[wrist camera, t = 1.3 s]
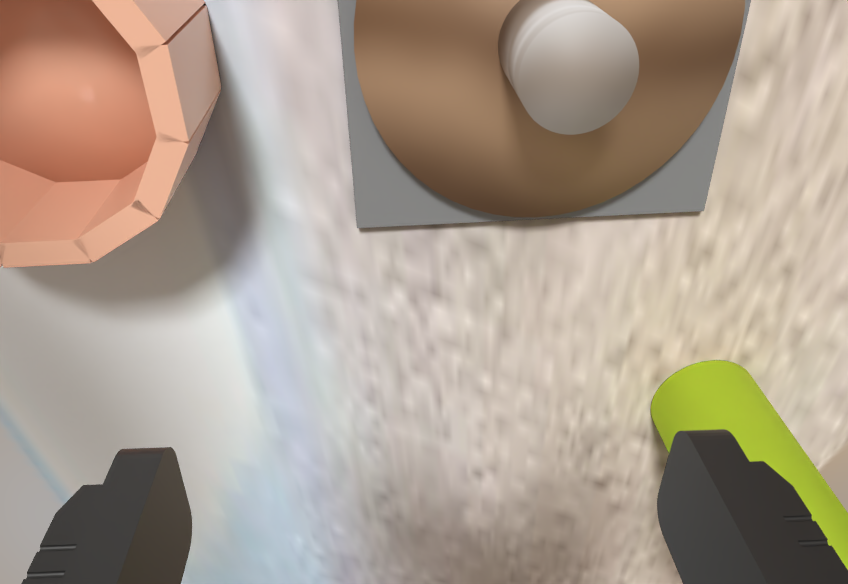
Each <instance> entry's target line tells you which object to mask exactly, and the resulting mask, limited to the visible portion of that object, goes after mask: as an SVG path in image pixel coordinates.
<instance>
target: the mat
mask: <svg viewBox="0 0 848 584" xmlns="http://www.w3.org/2000/svg"><path fill="white" fill-rule="evenodd" d="M750 2H751V0H745V11H744V17H743V23H742V30H741V36H740V39H739V43H738V46H737V50H736V53H735V57H734V60H733V63H732V66H731V68H730V70H729V73H728V75H727V78H726V80H725V83H724V85H723V87H722V89H721V91H720V93H719V95H718V96H717V98H716V100H715V102H714V104H713V106H712V107H711V109H710V111H709V112H708V113H707V115H706V116H705V118H704V119H703V121H702V122H701V124H700V125H699V127H698V128H697V129H696V131H695V132H694V133H693V134H692V135H691V136H690V138H689V139H688V140H687V141H686V142H685V143H684V145H683V146H682V147H681V148H680V149H679V150H678V151H677V152H676V153H675V154H674V155H673V156H672V157H671V158H670V159H669V160H668V161H667V162H665V163H664V164H663V165H662V166H661V167H660V168H658V169H657V170H656V171H655V172H653V173H652V174H651V175H649V176H648V177H647V178H645V179H644V180H643V181H641V182H639V183H638V184H636V185H635V186H633V187H631V188H630V189H628V190H626V191H625V192H623V193H621V194H619V195H617V196H615V197H613V198H611V199H608V200H606V201H604V202H602V203H599V204H596V205H594V206H591V207H588V208H585V209H582V210H578V211H574V212H570V213H565V214H561V215H554V216H545V217H509V216H502V215H494V214H490V213H486V212H482V211H478V210H474V209H471V208H469V207H466V206H464V205H461V204H459V203H456V202H454V201H452V200H450V199H448V198H446V197H444V196H443V195H441V194H439V193H437V192H436V191H434V190H432V189H431V188H430V187H428V186H427V185H426V184H424V183H423V182H422V181H420V180H419V179H418V178H416V177H415V176H414V175H413V174H412V173H411V172H410V171H409V170H408V169H407V168H406V167H405V166H404V165H403V164H402V163H401V162H400V161H399V160H398V159H397V157H396V156H395V155H394V153H393V152H392V151H391V150H390V148H389V147H388V146H387V144H386V143H385V141H384V140H383V138H382V136H381V134H380V133H379V131H378V129H377V128H376V126H375V124H374V122H373V120H372V118H371V115H370V113H369V110H368V108H367V106H366V103H365V101H364V97H363V94H362V90H361V87H360V83H359V79H358V75H357V68H356V61H355V53H354V16H355V8H356V0H338V9H339V21H340V33H341V44H342V56H343V68H344V80H345V91H346V103H347V115H348V127H349V138H350V150H351V162H352V174H353V185H354V197H355V209H356V221H357V228H369V227H389V226H409V225H430V224H450V223H470V222H491V221H511V220H531V219H551V218H572V217H592V216H612V215H633V214H653V213H673V212H693V211H704V208H705V204H706V199H707V195H708V190H709V186H710V181H711V177H712V172H713V168H714V163H715V159H716V154H717V150H718V146H719V141H720V137H721V132H722V128H723V123H724V119H725V114H726V110H727V105H728V101H729V96H730V92H731V87H732V83H733V78H734V74H735V69H736V65H737V61H738V56H739V52H740V47H741V43H742V38H743V34H744V29H745V25H746V20H747V16H748V11H749V7H750Z"/></svg>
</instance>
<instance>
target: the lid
mask: <svg viewBox="0 0 848 584" xmlns="http://www.w3.org/2000/svg"><path fill="white" fill-rule="evenodd" d="M744 11H745V0H356V8H355V16H354V53H355V61H356V68H357V75H358V79H359V83H360V87H361V90H362V94H363V97H364V101H365V103H366V106H367V108H368V110H369V113H370V115H371V118H372V120H373V122H374V124H375V126H376V128H377V129H378V131H379V133H380V134H381V136H382V138H383V140H384V141H385V143H386V144H387V146H388V147H389V148H390V150H391V151H392V152H393V153H394V155H395V156H396V157H397V159H398V160H399V161H400V162H401V163H402V164H403V165H404V166H405V167H406V168H407V169H408V170H409V171H410V172H411V173H412V174H413V175H414V176H415V177H416V178H418V179H419V180H420V181H422V182H423V183H424V184H426V185H427V186H428V187H430V188H431V189H432V190H434V191H436V192H437V193H439V194H441V195H443V196H444V197H446V198H448V199H450V200H452V201H454V202H456V203H459V204H461V205H464V206H466V207H469V208H471V209H474V210H478V211H482V212H486V213H490V214H494V215H502V216H509V217H545V216H554V215H561V214H565V213H570V212H574V211H578V210H582V209H585V208H588V207H591V206H594V205H596V204H599V203H602V202H604V201H606V200H608V199H611V198H613V197H615V196H617V195H619V194H621V193H623V192H625V191H626V190H628V189H630V188H631V187H633V186H635V185H636V184H638V183H639V182H641V181H643V180H644V179H645V178H647V177H648V176H649V175H651V174H652V173H653V172H655V171H656V170H657V169H658V168H660V167H661V166H662V165H663V164H664V163H665V162H667V161H668V160H669V159H670V158H671V157H672V156H673V155H674V154H675V153H676V152H677V151H678V150H679V149H680V148H681V147H682V146H683V145H684V143H685V142H686V141H687V140H688V139H689V138H690V136H691V135H692V134H693V133H694V132H695V131H696V129H697V128H698V127H699V125H700V124H701V122H702V121H703V119H704V118H705V116H706V115H707V113H708V112H709V111H710V109H711V107H712V106H713V104H714V102H715V100H716V98H717V96H718V95H719V93H720V91H721V89H722V87H723V85H724V83H725V80H726V78H727V75H728V73H729V70H730V68H731V66H732V63H733V60H734V57H735V53H736V50H737V46H738V43H739V39H740V36H741V30H742V23H743V17H744Z"/></svg>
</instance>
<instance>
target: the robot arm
mask: <svg viewBox="0 0 848 584" xmlns="http://www.w3.org/2000/svg"><path fill="white" fill-rule="evenodd" d="M657 510H658V518H659V523H660V527H661V531H662V534H663V536H664V539H665V541H666V543H667V546H668V548H669V551H670V553H671V555H672V558H673V560H674V563H675V565H676V567H677V570H678V572H679V575H680V577H681V579H682V582H683V584H848V570H847V568H846V567H845V565H844V563H843V562H842V560H841V559H840V557H839V556H838V554H837V553H836V551H835V550H834V548H833V547H832V546H829V545H828V542H827V540H828V539H827V537H826V536H825V534H824V533H823V531H822V530H821V528H820V527H819V525H818V524H817V522H816V521H813V520H812V514H811V513H810V511H809V510H808V508H807V507H806V505H805V504H804V502H803V501H802V499H801V498H800V496H799V495H798V493H797V491H796V490H795V488H794V487H793V486H792V485H791V484H790V483H789V482H788V481H787V480H785V479H784V478H783V477H782V476H781V475H779V474H778V473H777V472H776V471H775V470H774V469H772V468H771V467H770V466H769V465H768V464H766V463H765V462H764V461H753V462H749V460H748V458H747V457H746V455H745V453H744V452H743V450H742V448H741V447H740V445H739V444H738V442H737V440H736V439H735V437H734V436H733V434H732V433H731V432H729V431H728V430H725V429H718V430H690V431H678V432H677V433H676V434H675V436H674V439H673V442H672V445H671V449H670V453H669V456H668V460H667V463H666V467H665V471H664V474H663V478H662V482H661V485H660V489H659V493H658V499H657ZM191 536H192V517H191V510H190V506H189V503H188V499H187V495H186V491H185V487H184V483H183V480H182V476H181V472H180V468H179V464H178V461H177V457H176V454H175V451H174V450H173V449H172V448H171V447H167V448H139V449H122V450H120V451H119V452H118V453H117V455H116V456H115V458H114V460H113V463H112V465H111V467H110V469H109V472H108V474H107V476H106V479H105V481H104V483H103V485H83V486H82V487H81V488H80V489H79V490H78V491H77V492H76V493H75V494H74V495H73V496H72V497H71V498H70V499H69V500H68V501H67V502H66V503H65V504H64V505H63V506H62V508H61V509H60V510H59V511H58V512H57V513H56V514H55V516H54V518H53V520H52V522H51V524H50V526H49V528H48V531H47V532H46V534H45V537H44V539H43V541H42V543H41V545H40V551H39V552H37V553H36V555H35V557H34V559H33V561H32V563H31V566H30V567H29V569H28V572H27V578H26V579H24V580H23V582H22V584H181V580H182V577H183V573H184V569H185V566H186V562H187V558H188V554H189V550H190V545H191Z"/></svg>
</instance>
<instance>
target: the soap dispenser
mask: <svg viewBox="0 0 848 584" xmlns="http://www.w3.org/2000/svg"><path fill="white" fill-rule="evenodd" d="M651 416H652V419H653V422H654V424H655V426H656V428H657V430H658V432H659V434H660V436H661V438H662V440H663V442H664V444H665V446H666V448H667V451H668V453H670V449H671V445H672V442H673V439H674V436H675V434H676V433H677V432H678V431H690V430H718V429H725V430H728V431H729V432H731V433H732V434H733V436H734V437H735V439H736V440H737V442H738V444H739V445H740V447H741V448H742V450H743V452H744V453H745V455H746V457H747V458H748V460H749V462H753V461H764V462H765V463H766V464H768V465H769V466H770V467H771V468H772V469H774V470H775V471H776V472H777V473H778V474H779V475H781V476H782V477H783V478H784V479H785V480H787V481H788V482H789V483H790V484H791V485H792V486H793V487H794V488H795V490H796V491H797V493H798V495H799V496H800V498H801V499H802V501H803V502H804V504H805V505H806V507H807V508H808V510H809V511H810V513H811V514H812V520H813V521H816V522H817V524H818V525H819V527H820V528H821V530H822V531H823V533H824V534H825V536H826V537H827V539H828V540H827V542H828V545H829V546H832V547H833V548H834V550H835V551H836V553H837V554H838V556H839V557H840V559H841V560H842V562H843V563H844V565H845V567H846V568H847V570H848V513H847V511H846V510H845V508H844V507H843V506H842V504H841V503H840V501H839V500H838V499H837V497H836V496H835V494H834V493H833V491H832V490H831V489H830V487H829V486H828V484H827V483H826V481H825V480H824V479H823V477H822V476H821V474H820V473H819V472H818V470H817V469H816V467H815V466H814V464H813V463H812V462H811V460H810V459H809V457H808V456H807V455H806V453H805V452H804V450H803V449H802V447H801V446H800V445H799V443H798V442H797V440H796V439H795V438H794V436H793V435H792V433H791V432H790V430H789V429H788V428H787V426H786V425H785V423H784V422H783V421H782V419H781V418H780V416H779V415H778V413H777V412H776V411H775V409H774V408H773V406H772V405H771V404H770V402H769V401H768V399H767V398H766V396H765V395H764V394H763V392H762V391H761V389H760V388H759V387H758V385H757V384H756V382H755V381H754V379H753V378H752V377H751V375H750V374H749V373H748V372H747V371H746V370H745V369H744V368H743V367H741V366H739V365H737V364H735V363H732V362H728V361H720V360H713V361H705V362H700V363H696V364H693V365H690V366H688V367H685V368H683V369H681V370H680V371H678V372H676V373H675V374H673V375H672V376H670V377H669V378H668V379H667V380H666V381H665V382H664V383H663V384H662V385H661V386H660V387H659V389H658V390H657V392H656V393H655V395H654V397H653V400H652V404H651Z"/></svg>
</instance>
